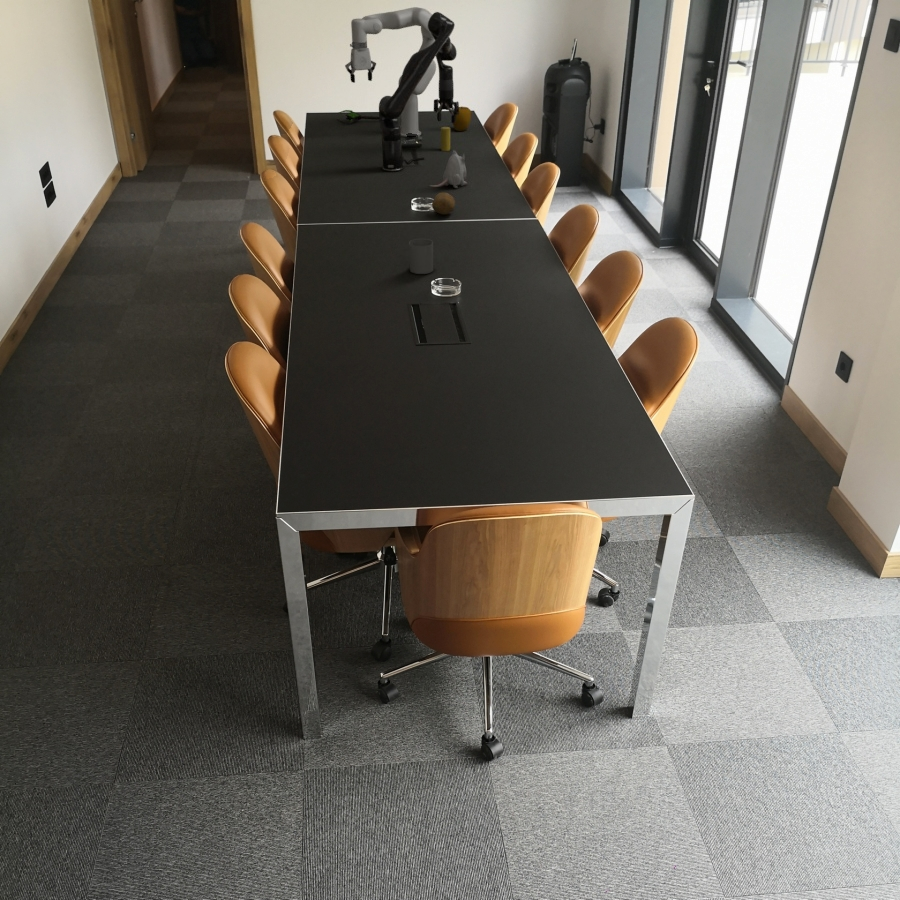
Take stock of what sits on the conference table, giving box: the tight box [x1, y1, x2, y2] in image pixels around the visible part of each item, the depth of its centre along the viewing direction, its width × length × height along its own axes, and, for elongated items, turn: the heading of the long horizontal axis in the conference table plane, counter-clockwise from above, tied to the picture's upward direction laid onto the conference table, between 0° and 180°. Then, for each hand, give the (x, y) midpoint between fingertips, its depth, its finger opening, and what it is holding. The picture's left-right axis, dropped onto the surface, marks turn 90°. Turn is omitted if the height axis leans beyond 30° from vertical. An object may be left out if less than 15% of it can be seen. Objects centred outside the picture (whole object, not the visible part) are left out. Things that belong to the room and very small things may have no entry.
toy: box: [428, 149, 468, 189], centre depth 390 cm, size 9×24×15 cm, turn 137°
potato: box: [431, 192, 456, 216], centre depth 360 cm, size 10×14×8 cm
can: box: [440, 126, 451, 152], centre depth 451 cm, size 5×5×11 cm
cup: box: [408, 237, 434, 275], centre depth 305 cm, size 8×8×10 cm
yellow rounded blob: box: [452, 105, 472, 132], centre depth 487 cm, size 11×11×13 cm
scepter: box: [337, 109, 379, 125], centre depth 507 cm, size 6×13×30 cm
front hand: (446, 121), depth 446 cm, fingers open, 8 cm apart
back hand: (361, 81), depth 453 cm, fingers open, 9 cm apart
